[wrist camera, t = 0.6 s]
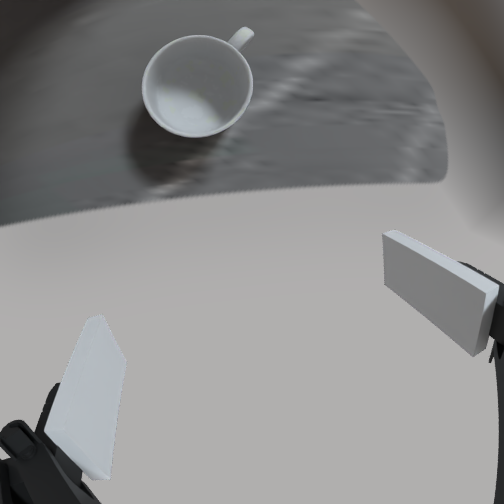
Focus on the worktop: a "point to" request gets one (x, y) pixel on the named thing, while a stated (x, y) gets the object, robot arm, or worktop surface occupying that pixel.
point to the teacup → (199, 84)
